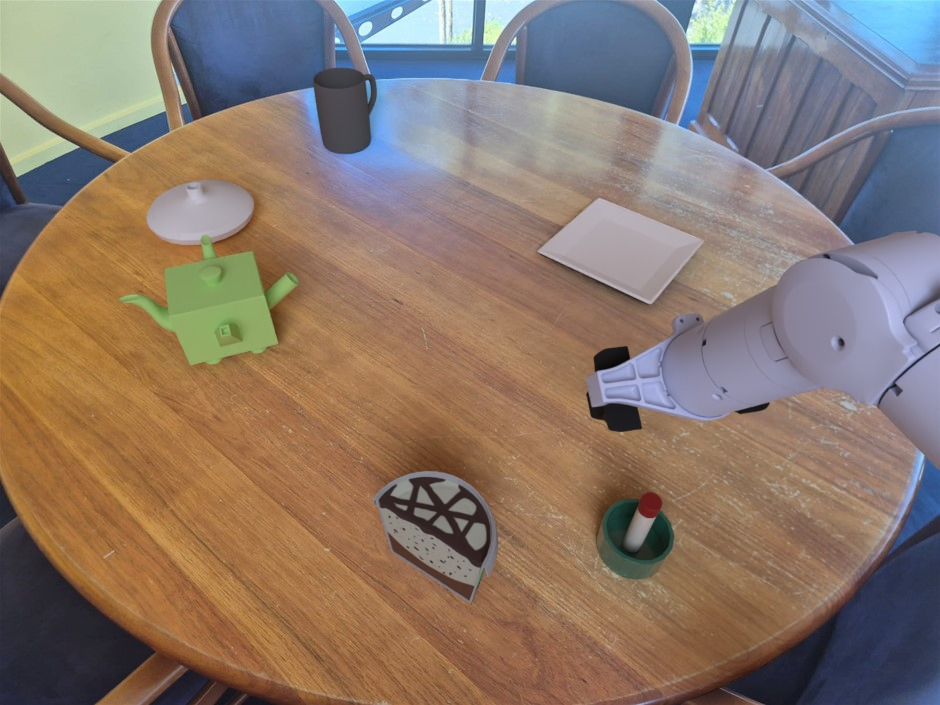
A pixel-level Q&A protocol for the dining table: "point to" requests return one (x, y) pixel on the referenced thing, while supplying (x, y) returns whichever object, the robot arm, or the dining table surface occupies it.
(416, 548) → the cake slice
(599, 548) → the thermos cup
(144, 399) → the dining table surface
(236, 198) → the grey lid
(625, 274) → the plate
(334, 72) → the mug
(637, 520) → the marker
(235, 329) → the kettle
